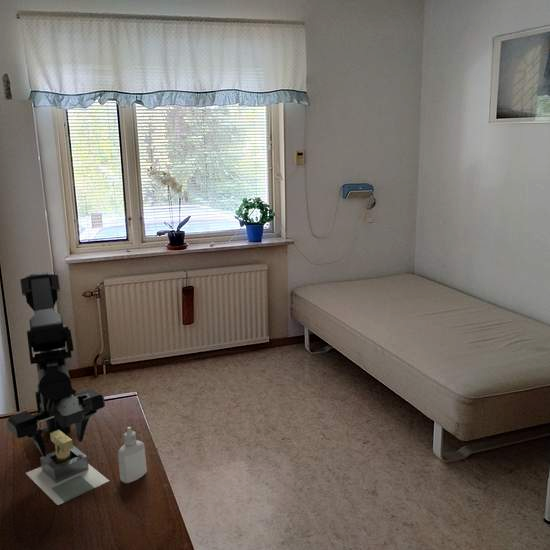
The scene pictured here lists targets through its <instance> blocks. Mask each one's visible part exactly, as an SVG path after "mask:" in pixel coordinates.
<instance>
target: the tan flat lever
mask: <svg viewBox="0 0 550 550" xmlns="http://www.w3.org/2000/svg"><path fill="white" fill-rule="evenodd" d="M49 435H50V441H51V442H52V443H53V444H54V449H55V451H56V457H57V465H59V464H61V463H64V462H66V461H69V460H71V455H70V449H71V448H73V445H74V444H73V443H74V442H73V439H72V438H70V437H69V436H68V435H67V434H66V433H65V434H64V433H63V432H61V431H60V430H57V431H54V432H52V433H50V434H49Z"/></svg>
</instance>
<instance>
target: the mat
mask: <svg viewBox="0 0 550 550" xmlns="http://www.w3.org/2000/svg"><path fill="white" fill-rule="evenodd" d="M93 488H94V487H93V486H92V485H91V484H90V483H89V482H87V481H86V480H85V479H84V478H83V477H82V476H77V477H75V478H73V479H71V480H68V481H66V482H64V483H62V484H59V485H57V486H55V487H53V488H52V489H53V490H54V491H55V492H56V493H57V494H58V495H59V496H60V497H61V498H62V499H63V500H64V501H66V502H68V501H70V500H72V499H74V498H76V496H77V497H79V496H81V495H83V494H86V493H88V492H90V491H91V490H94V489H95V488H94V489H93ZM82 493H83V494H82ZM80 494H81V495H80ZM78 495H79V496H78Z"/></svg>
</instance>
